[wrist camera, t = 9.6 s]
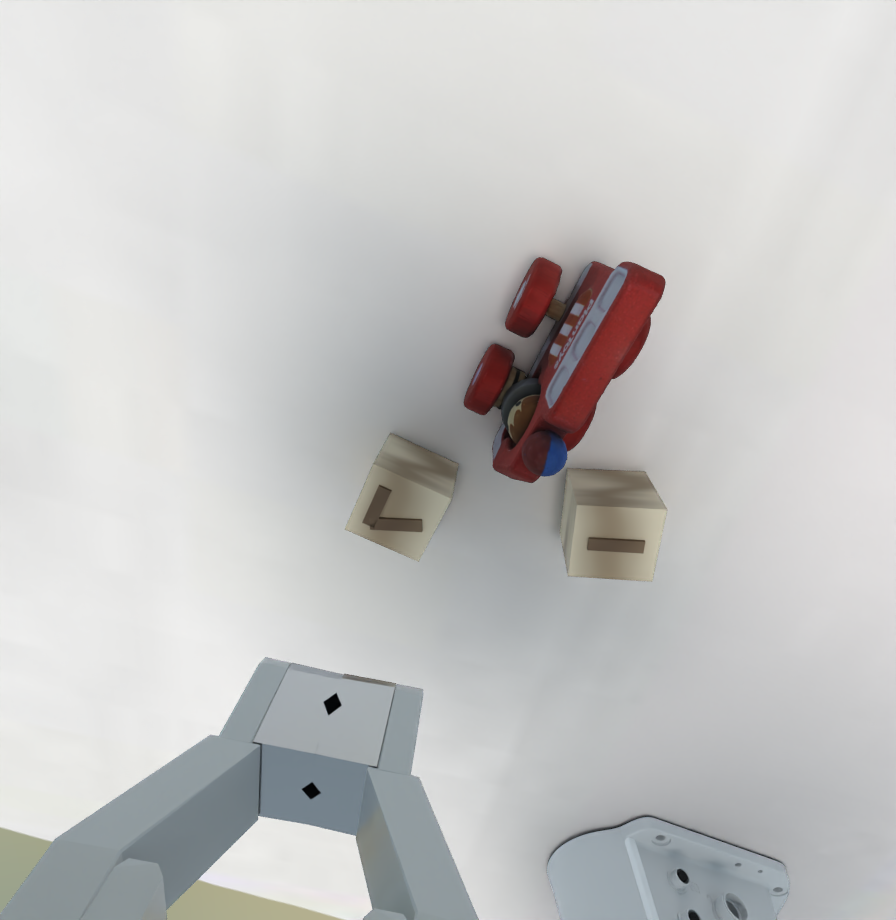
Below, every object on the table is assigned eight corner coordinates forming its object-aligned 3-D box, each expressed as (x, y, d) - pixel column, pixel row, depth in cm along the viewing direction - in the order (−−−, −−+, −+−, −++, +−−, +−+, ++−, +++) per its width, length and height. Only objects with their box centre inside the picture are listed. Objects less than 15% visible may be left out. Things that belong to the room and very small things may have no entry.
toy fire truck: (451, 417, 33) (431, 492, 23) (548, 226, 28) (572, 224, 18) (546, 462, 34) (563, 554, 24) (658, 284, 28) (735, 312, 19)
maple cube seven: (458, 463, 34) (451, 500, 29) (429, 520, 36) (418, 563, 32) (390, 432, 34) (372, 465, 29) (364, 491, 36) (343, 531, 31)
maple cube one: (644, 471, 33) (668, 511, 28) (632, 536, 35) (653, 583, 30) (567, 467, 34) (577, 506, 29) (559, 532, 36) (568, 578, 31)
